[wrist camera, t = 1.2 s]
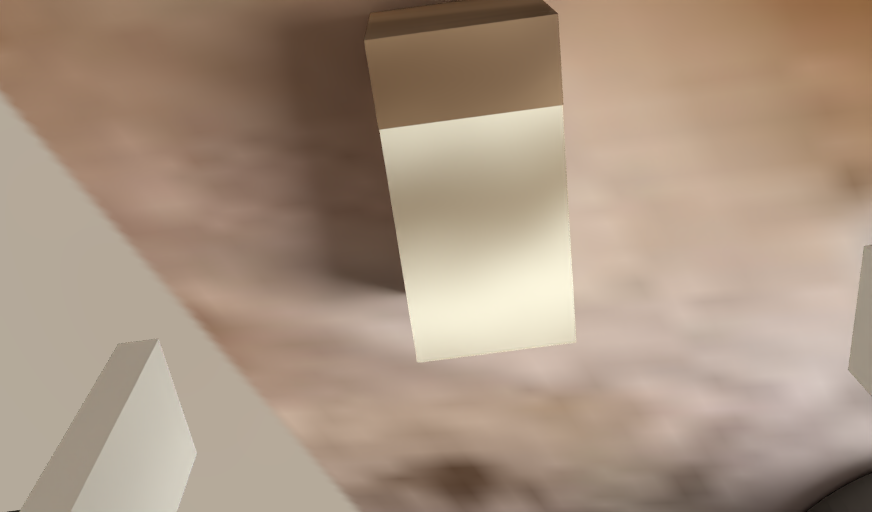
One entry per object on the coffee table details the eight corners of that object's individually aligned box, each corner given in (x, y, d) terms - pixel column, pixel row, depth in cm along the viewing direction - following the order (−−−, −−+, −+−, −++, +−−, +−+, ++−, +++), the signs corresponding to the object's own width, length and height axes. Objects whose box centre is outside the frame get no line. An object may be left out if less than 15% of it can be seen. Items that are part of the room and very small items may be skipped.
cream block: (552, 276, 29) (576, 342, 25) (414, 294, 29) (416, 363, 25) (532, -10, 24) (557, 13, 20) (370, 12, 24) (363, 40, 20)
